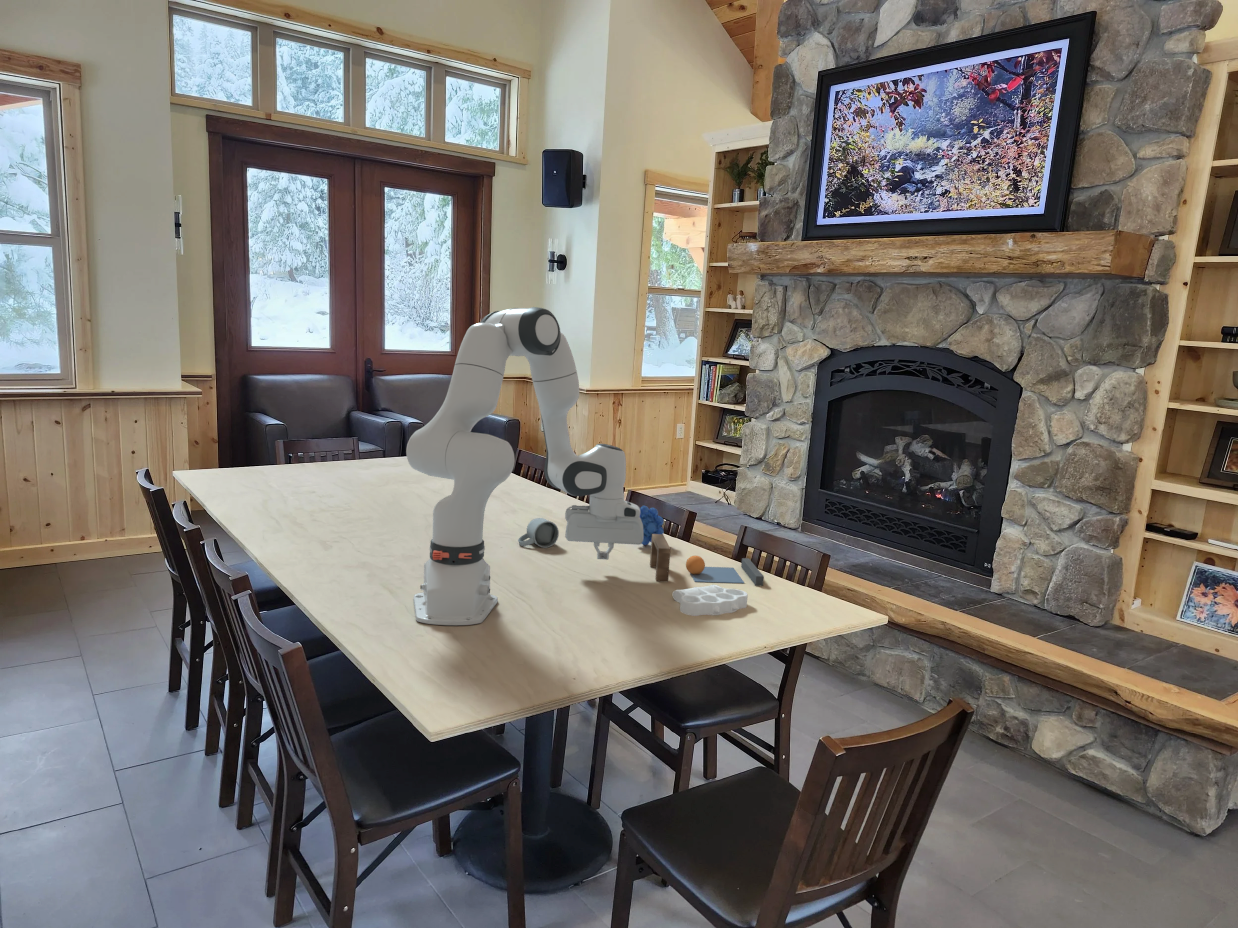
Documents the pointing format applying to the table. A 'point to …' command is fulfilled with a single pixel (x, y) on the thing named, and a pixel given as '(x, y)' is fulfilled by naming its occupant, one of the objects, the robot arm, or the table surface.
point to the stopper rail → (752, 572)
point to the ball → (695, 565)
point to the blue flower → (650, 523)
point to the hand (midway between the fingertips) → (602, 558)
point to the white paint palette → (710, 600)
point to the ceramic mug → (540, 533)
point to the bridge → (660, 557)
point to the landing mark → (718, 575)
